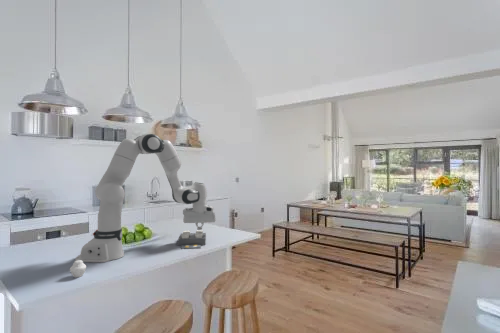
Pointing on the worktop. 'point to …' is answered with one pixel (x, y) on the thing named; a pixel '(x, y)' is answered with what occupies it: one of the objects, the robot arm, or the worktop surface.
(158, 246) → the worktop surface
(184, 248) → the pattern card
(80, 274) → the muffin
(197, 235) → the button front right
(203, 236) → the button board
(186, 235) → the button front left
